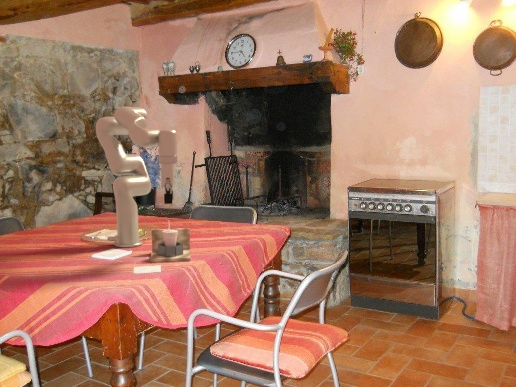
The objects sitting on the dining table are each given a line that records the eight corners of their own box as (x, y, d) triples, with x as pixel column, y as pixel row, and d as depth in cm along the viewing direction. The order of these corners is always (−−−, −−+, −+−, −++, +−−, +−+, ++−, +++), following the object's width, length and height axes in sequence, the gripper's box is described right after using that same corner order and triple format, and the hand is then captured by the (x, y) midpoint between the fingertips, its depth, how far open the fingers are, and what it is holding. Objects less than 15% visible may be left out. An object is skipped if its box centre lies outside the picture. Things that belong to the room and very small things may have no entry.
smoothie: (171, 251, 221) (170, 218, 219) (181, 253, 217) (180, 220, 215) (159, 254, 216) (158, 221, 214) (170, 256, 212) (169, 222, 210)
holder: (150, 262, 208) (149, 237, 206) (152, 252, 223) (151, 229, 222) (190, 260, 210) (189, 235, 208) (190, 251, 226) (189, 228, 224)
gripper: (159, 158, 219) (160, 198, 222) (157, 162, 203) (158, 205, 205) (177, 158, 221) (178, 198, 223) (177, 161, 204) (177, 205, 206)
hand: (168, 201), depth 214 cm, fingers open, 9 cm apart
